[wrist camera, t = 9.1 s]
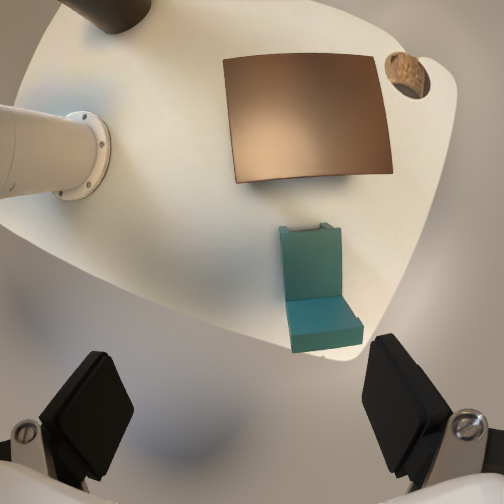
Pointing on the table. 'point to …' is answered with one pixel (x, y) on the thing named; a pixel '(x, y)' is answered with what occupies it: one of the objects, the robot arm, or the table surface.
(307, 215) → the table surface
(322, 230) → the chair
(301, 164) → the side table
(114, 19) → the water bottle
